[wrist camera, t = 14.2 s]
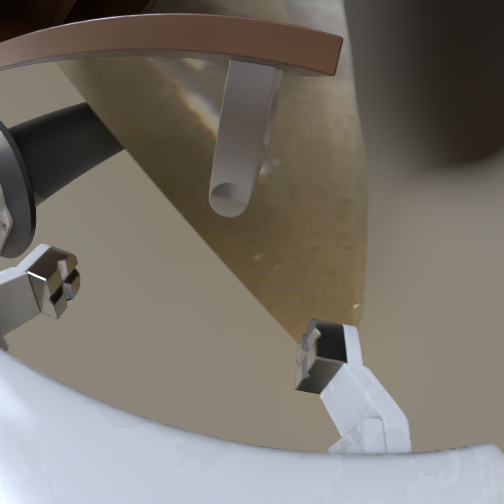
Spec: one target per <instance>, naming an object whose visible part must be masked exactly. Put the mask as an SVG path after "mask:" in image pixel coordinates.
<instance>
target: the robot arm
mask: <svg viewBox="0 0 504 504" xmlns="http://www.w3.org/2000/svg"><path fill="white" fill-rule="evenodd" d="M12 226H13V220H12V217H11V215H10V212H9V210H8V208H7V206H6V203H5V198H4V194H3V190H2V186H1V183H0V254H1V251H2V249H3V246H4V244H5V242H6V239H7V237H8V235H9V232H10V230H11V228H12ZM77 264H78V263H77V258H76V256H75V255H74V254H72V253H69V252H66V251H64V250H61V249H58V248H55V247H52V246H49V245H47V244H44V243H43V244H40V245H38V247H36V248H35V249H34V250H33V251H32V252H31V253H30V254H29V255H28V256H27V257H26V258H25V259H24V260H23V261H22V262H21V263H20V264H19V265H18V266H17V267H16V268H14V267H11V268H9V269H6V270H4V271H1V272H0V504H504V454H503V452H502V451H501V450H500V449H499V448H498V447H497V446H496V445H495V444H494V443H491V442H485V443H480V444H475V445H470V446H464V447H458V448H451V449H444V450H435V451H426V452H415V453H413V452H412V445H411V437H410V430H409V423H408V418H407V417H406V415H405V414H404V413H403V411H402V410H401V409H400V407H398V405H397V404H396V403H395V401H394V400H393V399H392V397H391V396H390V395H389V393H388V392H387V391H386V390H385V388H384V387H383V386H382V385H381V383H380V382H379V381H378V380H377V378H376V377H375V376H374V375H373V373H372V372H371V371H370V369H369V368H368V367H364V366H363V360H362V352H361V346H360V340H359V334H358V329H357V327H356V326H350V325H345V324H339V323H334V322H329V321H324V320H319V319H314V318H312V319H311V320H310V322H309V324H308V326H307V333H306V334H304V335H303V336H302V338H301V340H300V342H299V345H298V349H297V356H296V362H297V364H298V365H299V368H298V370H297V371H296V378H295V390H300V391H305V392H310V393H316V394H320V395H319V396H320V398H321V400H322V401H323V403H324V405H325V407H326V409H327V411H328V413H329V414H330V416H331V418H332V420H333V422H334V424H335V426H336V427H337V429H338V431H339V433H340V435H341V437H342V438H341V439H340V440H339V441H337V442H336V443H335V444H334V445H332V446H331V447H330V448H328V453H317V452H305V451H295V450H286V449H279V448H271V447H265V446H258V445H253V444H247V443H241V442H236V441H231V440H226V439H222V438H217V437H213V436H208V435H204V434H200V433H196V432H193V431H189V430H185V429H182V428H178V427H175V426H171V425H168V424H165V423H161V422H158V421H155V420H152V419H149V418H146V417H143V416H140V415H137V414H134V413H132V412H129V411H126V410H123V409H121V408H118V407H116V406H113V405H111V404H108V403H106V402H103V401H101V400H99V399H96V398H94V397H91V396H89V395H87V394H85V393H83V392H80V391H78V390H76V389H74V388H72V387H70V386H68V385H66V384H64V383H62V382H60V381H58V380H56V379H54V378H52V377H50V376H48V375H46V374H44V373H42V372H41V371H39V370H37V369H35V368H33V367H32V366H30V365H28V364H26V363H25V362H23V361H21V360H19V359H18V358H16V357H15V356H13V355H11V354H10V353H8V352H7V350H8V348H9V347H8V344H7V342H6V340H5V338H4V335H6V334H7V333H9V332H11V331H12V330H14V329H16V328H17V327H19V326H21V325H22V324H24V323H25V322H27V321H29V320H30V319H32V318H33V317H35V316H37V315H39V314H40V313H41V312H42V313H44V314H46V315H49V316H51V317H53V318H56V319H59V317H60V316H61V315H62V313H63V312H64V311H65V309H66V308H67V301H69V300H71V299H73V298H74V297H75V296H76V294H77V293H78V290H79V287H80V274H79V272H78V271H77V269H76V268H75V267H76V266H77Z"/></svg>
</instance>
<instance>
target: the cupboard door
mask: <svg viewBox="0 0 504 504" xmlns="http://www.w3.org/2000/svg"><path fill="white" fill-rule="evenodd" d="M342 43H343V38H342V37H340V36H336V35H332V34H329V33H325V32H321V31H317V30H313V29H309V28H304V27H300V26H295V25H290V24H285V23H280V22H274V21H268V20H261V19H254V18H247V17H238V16H228V15H215V14H197V13H155V14H136V15H124V16H114V17H106V18H98V19H92V20H85V21H80V22H74V23H69V24H64V25H60V26H55V27H51V28H47V29H43V30H39V31H35V32H32V33H28V34H25V35H22V36H18V37H15V38H12V39H9V40H6V41H3V42H1V43H0V71H1V70H5V69H10V68H15V67H20V66H25V65H31V64H36V63H44V62H51V61H60V60H69V59H80V58H94V57H124V56H155V57H180V58H194V59H205V60H215V61H224V62H229V67H228V73H227V78H226V84H225V90H224V96H223V101H222V107H221V114H220V120H219V126H218V132H217V139H216V146H215V152H214V159H213V167H212V174H211V181H210V189H209V202H210V205H211V207H212V209H213V210H214V211H215V212H216V213H218V214H219V215H221V216H223V217H228V218H232V217H237V216H239V215H241V214H243V213H244V212H245V210H246V209H247V207H248V205H249V202H250V199H251V196H252V193H253V190H254V188H255V185H256V182H257V179H258V176H259V174H260V171H261V168H262V165H263V162H264V160H265V157H266V154H267V151H268V148H269V143H270V138H271V134H272V129H273V124H274V120H275V115H276V111H277V106H278V101H279V97H280V92H281V87H282V83H283V78H284V74H285V72H288V73H293V74H297V75H302V76H334V75H335V73H336V68H337V64H338V60H339V56H340V51H341V47H342Z"/></svg>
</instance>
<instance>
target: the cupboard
mask: <svg viewBox="0 0 504 504" xmlns="http://www.w3.org/2000/svg"><path fill="white" fill-rule="evenodd" d="M156 1H157V0H0V43H1V42H3V41H6V40H9V39H12V38H15V37H18V36H22V35H25V34H28V33H32V32H35V31H39V30H43V29H47V28H51V27H55V26H60V25H64V24H69V23H74V22H80V21H85V20H92V19H98V18H106V17H114V16H124V15H136V14H146V13H147V12H148V11H149V10H150V8H151V7H152V6H153V5H154V4H155V2H156Z"/></svg>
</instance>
